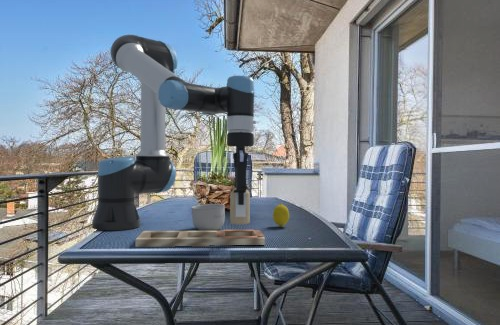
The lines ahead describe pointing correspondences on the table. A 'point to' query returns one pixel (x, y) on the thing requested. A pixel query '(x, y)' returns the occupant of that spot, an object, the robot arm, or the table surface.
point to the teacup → (208, 216)
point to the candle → (233, 209)
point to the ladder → (199, 238)
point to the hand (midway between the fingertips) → (239, 214)
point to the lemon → (281, 215)
